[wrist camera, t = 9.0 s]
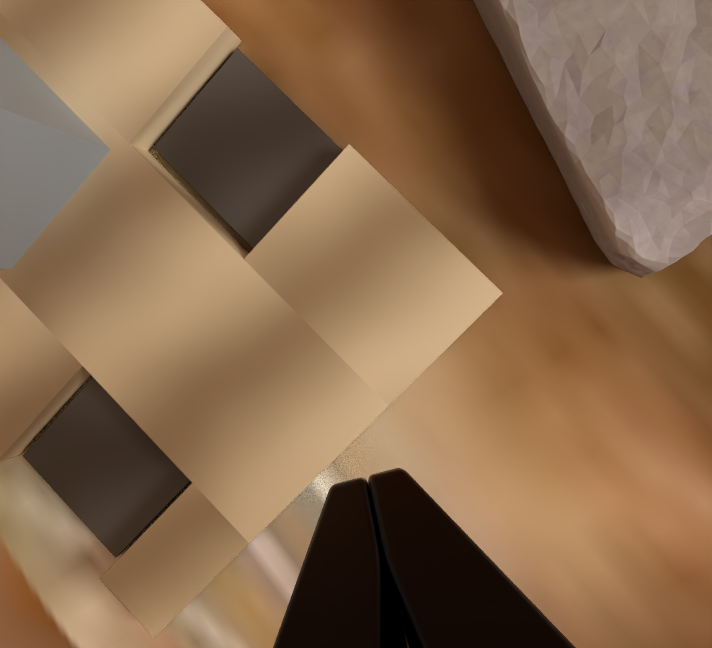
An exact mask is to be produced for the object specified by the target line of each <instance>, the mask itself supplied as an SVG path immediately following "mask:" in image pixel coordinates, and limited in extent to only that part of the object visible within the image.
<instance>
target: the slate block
mask: <svg viewBox="0 0 712 648" xmlns="http://www.w3.org/2000/svg"><path fill="white" fill-rule="evenodd" d="M110 150H111V149H110V148H109V147H108V146H107V145H106V144H105V143H104V142H103V141H102V140H101V139H100V138H99V137H98V136H97V135H96V134H95V133H94V132H93V131H92V130H91V129H90V128H89V127H88V126H87V125H86V124H85V123H84V122H83V121H82V120H81V119H80V118H79V117H78V116H77V115H76V114H75V113H74V112H73V111H72V110H71V109H70V108H69V107H68V106H67V105H66V104H65V103H64V102H63V101H62V100H61V99H60V98H59V97H58V96H57V95H56V94H55V93H54V92H53V91H52V90H51V89H50V87H49V86H48V85H47V84H46V83H45V82H44V81H43V80H42V79H41V78H40V77H39V76H38V75H37V74H36V73H35V72H34V71H33V70H32V69H31V68H30V67H29V66H28V65H27V64H26V63H25V62H24V61H23V60H22V59H21V58H20V57H19V56H18V55H17V54H16V53H15V52H14V51H13V50H12V49H11V48H10V47H9V46H8V45H7V44H6V43H5V42H4V41H3V40H2V39H0V269H12V267H13V266H14V265H15V264H16V263H17V262H18V260H19V259H20V258H21V257H22V256H23V254H24V253H25V252H26V251H27V250H28V248H29V247H30V246H31V245H32V244H33V242H34V241H35V240H36V239H37V238H38V236H39V235H40V234H41V233H42V232H43V230H44V229H45V228H46V227H47V226H48V224H49V223H50V222H51V221H52V220H53V218H54V217H55V216H56V215H57V214H58V212H59V211H60V210H61V209H62V208H63V206H64V205H65V204H66V203H67V202H68V200H69V199H70V198H71V197H72V196H73V194H74V193H75V192H76V191H77V190H78V188H79V187H80V186H81V185H82V184H83V182H84V181H85V180H86V179H87V178H88V177H89V175H90V174H91V173H92V172H93V171H94V169H95V168H96V167H97V166H98V165H99V163H100V162H101V161H102V160H103V159H104V157H105V156H106V155H107V154H108V153H109V151H110Z"/></svg>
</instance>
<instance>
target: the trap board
mask: <svg viewBox="0 0 712 648" xmlns="http://www.w3.org/2000/svg"><path fill="white" fill-rule="evenodd" d="M0 39H2V40H3V41H4V42H5V43H6V44H7V45H8V46H9V47H10V48H11V49H12V50H13V51H14V52H15V53H16V54H17V55H18V56H19V57H20V58H21V59H22V60H23V61H24V62H25V63H26V64H27V65H28V66H29V67H30V68H31V69H32V70H33V71H34V72H35V73H36V74H37V75H38V76H39V77H40V78H41V79H42V80H43V81H44V82H45V83H46V84H47V85H48V86H49V87H50V89H51V90H52V91H53V92H54V93H55V94H56V95H57V96H58V97H59V98H60V99H61V100H62V101H63V102H64V103H65V104H66V105H67V106H68V107H69V108H70V109H71V110H72V111H73V112H74V113H75V114H76V115H77V116H78V117H79V118H80V119H81V120H82V121H83V122H84V123H85V124H86V125H87V126H88V127H89V128H90V129H91V130H92V131H93V132H94V133H95V134H96V135H97V136H98V137H99V138H100V139H101V140H102V141H103V142H104V143H105V144H106V145H107V146H108V147H109V148H110V149H111V150H110V151H109V153H108V154H107V155H106V156H105V157H104V159H103V160H102V161H101V162H100V163H99V165H98V166H97V167H96V168H95V169H94V171H93V172H92V173H91V174H90V175H89V177H88V178H87V179H86V180H85V181H84V182H83V184H82V185H81V186H80V187H79V188H78V190H77V191H76V192H75V193H74V194H73V196H72V197H71V198H70V199H69V200H68V202H67V203H66V204H65V205H64V206H63V208H62V209H61V210H60V211H59V212H58V214H57V215H56V216H55V217H54V218H53V220H52V221H51V222H50V223H49V224H48V226H47V227H46V228H45V229H44V230H43V232H42V233H41V234H40V235H39V236H38V238H37V239H36V240H35V241H34V242H33V244H32V245H31V246H30V247H29V248H28V250H27V251H26V252H25V253H24V254H23V256H22V257H21V258H20V259H19V260H18V262H17V263H16V264H15V265H14V266H13V267H12V269H0V461H3V460H6V459H9V458H11V457H14V456H17V455H20V454H21V453H22V452H23V451H24V450H25V448H26V447H27V446H28V445H29V444H30V443H31V442H32V441H33V439H34V438H35V437H36V436H37V435H38V434H39V433H40V432H41V431H42V429H43V428H44V427H45V426H46V425H47V424H48V423H49V422H50V421H51V419H52V418H53V417H54V416H55V415H56V414H57V413H58V412H59V411H60V409H61V408H62V407H63V406H64V405H65V404H66V403H67V402H68V401H69V399H70V398H71V397H72V396H73V395H74V394H75V393H76V392H77V390H78V389H79V388H80V387H81V386H82V385H83V384H84V383H85V382H86V380H87V379H88V378H89V377H90V376H91V375H92V376H93V378H92V379H91V380H90V381H89V383H88V384H87V385H86V386H85V387H84V388H83V389H82V390H81V391H80V393H79V394H78V395H77V396H76V397H75V398H74V399H73V400H72V401H71V403H70V404H69V405H68V406H67V407H66V408H65V409H64V410H63V412H62V413H61V414H60V415H59V416H58V417H57V418H56V419H55V420H54V422H53V423H52V424H51V425H50V426H49V427H48V428H47V429H46V430H45V432H44V433H43V434H42V435H41V436H40V437H39V438H38V439H37V440H36V442H35V443H34V444H33V445H32V446H31V447H30V448H29V449H28V450H27V452H26V453H25V454H24V455H23V457H24V458H25V459H26V460H27V461H28V462H29V463H30V464H31V465H32V467H33V468H34V469H35V470H36V471H37V472H38V473H39V474H40V475H41V476H42V478H43V479H44V480H45V481H46V482H47V483H48V484H49V485H50V486H51V487H52V488H53V490H54V491H55V492H56V493H57V494H58V495H59V496H60V497H61V498H62V499H63V501H64V502H65V503H66V504H67V505H68V506H69V507H70V508H71V509H72V510H73V511H74V513H75V514H76V515H77V516H78V517H79V518H80V519H81V520H82V521H83V522H84V524H85V525H86V526H87V527H88V528H89V529H90V530H91V531H92V532H93V533H94V535H95V536H96V537H97V538H98V539H99V540H100V541H101V542H102V543H103V544H104V545H105V547H106V548H107V549H108V550H109V551H110V552H111V553H112V554H113V555H114V556H115V557H117V556H118V555H119V554H121V553H122V552H123V551H124V550H125V548H126V547H127V546H128V545H129V544H130V543H131V542H132V541H133V540H134V539H135V538H136V537H137V536H138V535H139V534H140V533H141V532H142V531H143V530H144V529H145V528H146V527H147V526H148V525H149V524H150V523H151V522H152V521H153V520H154V519H155V518H156V516H157V515H158V514H159V513H160V512H161V511H162V510H163V509H164V508H165V507H166V506H167V505H168V504H169V503H170V502H171V501H172V500H173V499H174V498H175V497H176V496H177V495H178V494H179V493H180V492H181V491H182V490H183V489H184V488H185V487H186V486H187V484H188V483H189V482H190V481H191V482H192V484H191V485H190V486H189V487H188V488H187V489H186V490H185V491H184V492H183V493H182V494H181V495H180V496H179V497H178V498H177V499H176V500H175V501H174V502H173V503H172V504H171V506H170V507H169V508H168V509H167V510H166V511H165V512H164V513H163V514H162V515H161V516H160V517H159V518H158V519H157V520H156V521H155V522H154V523H153V524H152V525H151V526H150V527H149V528H148V529H147V530H146V531H145V532H144V533H143V534H142V535H141V536H140V537H139V539H138V540H137V541H136V542H135V543H134V544H133V545H132V546H131V547H130V548H129V549H128V550H127V551H126V552H125V553H124V554H123V555H122V556H121V557H120V558H119V559H118V560H117V561H116V562H115V563H114V564H113V565H112V566H111V567H110V568H109V569H108V570H107V571H106V573H105V574H104V575H103V576H102V577H101V578H100V580H101V581H102V582H103V583H104V584H105V585H106V586H107V587H108V589H109V590H110V591H111V592H112V593H113V594H114V595H115V596H116V597H117V599H118V600H119V601H120V602H121V603H122V604H123V605H124V606H125V607H126V608H127V610H128V611H129V612H130V613H131V614H132V615H133V616H134V617H135V618H136V619H137V621H138V622H139V623H140V624H141V625H142V626H143V627H144V628H145V629H146V631H147V632H148V633H149V634H150V635H151V636H152V637H153V638H154V637H155V636H156V635H157V634H158V633H159V632H160V631H161V630H162V629H163V628H164V627H165V626H166V625H167V624H168V623H169V622H170V621H171V620H172V619H173V618H174V617H175V616H176V615H177V614H178V613H179V612H180V611H181V610H182V609H183V608H184V607H185V606H186V605H187V604H188V603H189V602H191V601H192V600H193V599H194V598H195V597H196V596H197V595H198V594H199V593H200V592H201V591H202V590H203V589H204V588H205V587H206V586H207V585H208V584H209V583H210V582H211V581H212V580H213V579H214V578H215V577H216V576H217V575H218V574H219V573H220V572H221V571H222V570H223V569H224V568H225V567H226V566H227V565H228V564H229V563H230V562H231V561H232V560H233V559H234V558H235V557H236V556H237V555H238V554H239V553H240V552H241V551H242V550H243V549H244V548H245V547H246V546H247V545H248V544H249V543H250V542H251V541H252V540H253V539H254V538H255V537H256V536H257V535H258V534H259V533H260V532H261V531H262V530H263V529H264V528H265V527H266V526H267V525H269V524H270V523H271V522H272V521H273V520H274V519H275V518H276V517H277V516H278V515H279V514H280V513H281V512H282V511H283V510H284V509H285V508H286V507H287V506H288V505H289V504H290V503H291V502H292V501H293V500H294V499H295V498H296V497H297V496H298V495H299V494H300V493H301V492H302V491H303V490H304V489H305V488H306V487H307V486H308V485H309V484H310V483H311V482H312V481H313V480H314V479H315V478H316V477H317V476H318V475H319V474H320V473H321V472H322V471H323V470H324V469H325V468H326V467H327V466H328V465H329V464H330V463H331V462H332V461H333V460H334V459H335V458H336V457H337V456H338V455H339V454H340V453H341V452H342V451H343V450H344V449H345V448H347V447H348V446H349V445H350V444H351V443H352V442H353V441H354V440H355V439H356V438H357V437H358V436H359V435H360V434H361V433H362V432H363V431H364V430H365V429H366V428H367V427H368V426H369V425H370V424H371V423H372V422H373V421H374V420H375V419H376V418H377V417H378V416H379V415H380V414H381V413H382V412H383V411H384V410H385V409H386V408H387V407H388V406H389V405H390V404H391V403H392V402H393V401H394V400H395V399H396V398H397V397H398V396H399V395H400V394H401V393H402V392H403V391H404V390H405V389H406V388H407V387H408V386H409V385H410V384H411V383H412V382H413V381H414V380H415V379H416V378H417V377H418V376H419V375H420V374H421V373H422V372H423V371H424V370H426V369H427V368H428V367H429V366H430V365H431V364H432V363H433V362H434V361H435V360H436V359H437V358H438V357H439V356H440V355H441V354H442V353H443V352H444V351H445V350H446V349H447V348H448V347H449V346H450V345H451V344H452V343H453V342H454V341H455V340H456V339H457V338H458V337H459V336H460V335H461V334H462V333H463V332H464V331H465V330H466V329H467V328H468V327H469V326H470V325H471V324H472V323H473V322H474V321H475V320H476V319H477V318H478V317H479V316H480V315H481V314H482V313H483V312H484V311H485V310H486V309H487V308H488V307H489V306H490V305H491V304H492V303H493V302H494V301H495V300H496V299H497V298H498V297H499V296H500V295H501V294H502V292H501V291H500V290H499V289H498V288H497V287H496V286H495V285H494V284H493V283H492V282H491V281H490V280H489V279H488V278H487V277H486V276H485V275H484V274H483V273H481V272H480V271H479V270H478V269H477V268H476V267H475V266H474V265H473V264H472V263H471V262H470V261H469V260H468V259H467V258H466V257H465V256H464V255H463V254H462V253H461V252H460V251H459V250H458V249H457V248H456V247H455V246H454V245H453V244H452V243H451V242H450V241H448V240H447V239H446V238H445V237H444V236H443V235H442V234H441V233H440V232H439V231H438V230H437V229H436V228H435V227H434V226H433V225H432V224H431V223H430V222H429V221H428V220H427V219H426V218H425V217H424V216H423V215H422V214H421V213H420V212H419V211H418V210H417V209H415V208H414V207H413V206H412V205H411V204H410V203H409V202H408V201H407V200H406V199H405V198H404V197H403V196H402V195H401V194H400V193H399V192H398V191H397V190H396V189H395V188H394V187H393V186H392V185H391V184H390V183H389V182H388V181H387V180H386V179H385V178H384V177H382V176H381V175H380V174H379V173H378V172H377V171H376V170H375V169H374V168H373V167H372V166H371V165H370V164H369V163H368V162H367V161H366V160H365V159H364V158H363V157H362V156H361V155H360V154H359V153H358V152H357V151H356V150H355V149H354V148H353V147H352V146H351V145H350V144H349V145H348V146H347V147H346V148H345V149H344V150H341V149H340V148H339V147H338V146H337V145H336V144H335V143H334V142H333V141H332V140H331V139H330V138H329V137H328V136H327V135H326V134H325V133H324V132H323V131H322V130H321V129H320V128H319V127H318V126H317V125H316V124H315V123H314V122H313V121H312V120H311V119H310V118H309V117H308V116H307V115H305V114H304V113H303V112H302V111H301V110H300V109H299V108H298V107H297V106H296V105H295V104H294V103H293V102H292V101H291V100H290V99H289V98H288V97H287V96H286V95H285V94H284V93H283V92H282V91H281V90H280V89H279V88H278V87H277V86H276V85H275V84H274V83H273V82H272V81H271V80H270V79H268V78H267V77H266V76H265V75H264V74H263V73H262V72H261V71H260V70H259V69H258V68H257V67H256V66H255V65H254V64H253V63H252V62H251V61H250V60H249V59H248V58H247V57H246V56H245V55H244V54H243V53H242V52H241V51H240V50H239V49H238V48H237V50H236V51H235V52H234V53H233V54H232V55H231V57H230V58H229V59H228V60H227V61H226V62H225V60H226V59H227V58H228V57H229V56H230V54H231V53H232V52H233V51H234V50H235V49H236V47H237V46H238V45H239V44H240V43H241V42H242V41H241V40H240V39H239V38H238V37H237V36H236V35H235V33H234V32H233V31H232V30H231V29H230V28H229V27H228V26H227V25H226V24H225V23H224V22H223V21H222V20H221V19H220V18H219V17H218V16H216V15H215V14H214V13H213V12H212V11H211V10H210V9H209V8H208V7H207V6H206V5H205V4H204V3H203V2H202V1H201V0H0ZM224 62H225V64H224V65H223V66H222V67H221V68H220V70H219V71H218V72H217V73H216V74H215V75H214V77H213V78H212V79H211V80H210V81H209V82H208V84H207V85H206V86H205V87H204V88H203V89H202V87H203V86H204V85H205V84H206V83H207V81H208V80H209V79H210V78H211V77H212V76H213V74H214V73H215V72H216V71H217V70H218V69H219V67H220V66H221V65H222V64H223V63H224ZM201 89H202V91H201V92H200V93H199V94H198V95H197V97H196V98H195V99H194V100H193V101H192V102H191V104H190V105H189V106H188V107H187V108H186V109H185V107H186V106H187V105H188V104H189V103H190V101H191V100H192V99H193V98H194V97H195V96H196V94H197V93H198V92H199V91H200V90H201ZM184 109H185V111H184V112H183V113H182V114H181V115H180V117H179V118H178V119H177V120H176V121H175V122H174V124H173V125H172V126H171V127H170V128H169V129H168V131H167V132H166V133H165V134H164V135H163V136H162V134H163V133H164V132H165V131H166V130H167V128H168V127H169V126H170V125H171V124H172V123H173V121H174V120H175V119H176V118H177V117H178V116H179V114H180V113H181V112H182V111H183V110H184ZM161 136H162V138H161V139H160V140H159V141H158V142H157V144H156V145H155V146H154V147H153V148H154V149H155V150H156V151H157V152H158V153H159V154H160V155H161V156H162V157H163V158H164V159H165V160H166V161H167V162H168V163H169V164H170V165H171V166H172V167H173V168H174V169H175V170H176V171H177V172H178V173H179V174H180V175H181V176H182V177H183V178H184V179H185V180H186V181H187V182H188V183H189V184H190V185H191V186H192V187H193V188H194V189H195V190H196V191H197V192H198V193H199V194H200V195H201V196H202V197H203V199H204V200H205V201H206V202H207V203H208V204H209V205H210V206H211V207H212V208H213V209H214V210H215V211H216V212H217V213H218V214H219V215H220V216H221V217H222V218H223V219H224V220H225V221H226V222H227V223H228V224H229V225H230V226H231V227H232V228H233V229H234V230H235V231H236V232H237V233H238V234H239V235H240V236H241V237H242V238H243V239H244V240H245V241H246V242H247V243H248V244H249V245H250V246H251V247H252V248H253V250H252V251H251V252H250V253H249V252H248V251H247V250H246V249H245V248H244V247H243V246H242V245H241V244H240V243H239V242H238V241H237V240H236V239H235V238H234V237H233V236H232V235H231V234H230V233H229V232H228V231H227V230H226V229H225V228H224V227H223V226H222V225H221V224H220V223H219V222H218V221H217V220H216V219H215V218H214V217H213V216H212V215H211V214H210V213H209V212H208V211H207V210H206V209H205V208H204V207H203V206H202V205H201V204H200V203H199V202H198V201H197V200H196V199H195V198H194V197H193V196H192V195H191V194H190V193H189V192H188V191H187V190H186V189H185V188H184V187H183V186H182V185H181V184H180V183H179V182H178V181H177V180H176V179H175V178H174V177H173V176H172V175H171V174H170V173H169V172H168V171H167V170H166V169H165V168H164V167H163V166H162V165H161V164H160V163H159V162H158V161H157V160H156V159H155V158H154V157H153V155H152V154H151V153H150V152H149V150H150V148H151V147H152V146H153V145H154V144H155V143H156V141H157V140H158V139H159V138H160V137H161Z"/></svg>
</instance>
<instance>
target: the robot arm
mask: <svg viewBox="0 0 712 648" xmlns="http://www.w3.org/2000/svg"><path fill="white" fill-rule="evenodd" d="M368 484H369V485H368ZM408 646H409V647H408ZM273 648H575V647H574V646H573V645H572V643H571V642H570V641H569V640H568V639H567V638H566V637H565V636H564V635H563V634H562V633H561V632H560V631H559V630H558V629H557V628H556V627H555V626H554V625H553V624H552V623H551V622H550V621H549V620H548V619H547V617H546V616H545V615H544V614H543V613H542V612H541V611H540V610H539V609H538V608H537V607H536V606H535V605H534V604H533V603H532V602H531V601H530V600H529V599H528V598H527V597H526V596H525V595H524V594H523V592H522V591H521V590H520V589H519V588H518V587H517V586H516V585H515V584H514V583H513V582H512V581H511V580H510V579H509V578H508V577H507V576H506V575H505V574H504V573H503V572H502V571H501V570H500V569H499V568H498V566H497V565H496V564H495V563H494V562H493V561H492V560H491V559H490V558H489V557H488V556H487V555H486V554H485V553H484V552H483V551H482V550H481V549H480V548H479V547H478V546H477V545H476V544H475V543H474V541H473V540H472V539H471V538H470V537H469V536H468V535H467V534H466V533H465V532H464V531H463V530H462V529H461V528H460V527H459V526H458V525H457V524H456V523H455V522H454V521H453V520H452V519H451V518H450V517H449V515H448V514H447V513H446V512H445V511H444V510H443V509H442V508H441V507H440V506H439V505H438V504H437V503H436V502H435V501H434V500H433V499H432V498H431V497H430V496H429V495H428V494H427V493H426V492H425V490H424V489H423V488H422V487H421V486H420V485H419V484H418V483H417V482H416V481H415V480H414V479H413V478H412V477H411V476H410V475H409V474H408V473H407V472H406V471H405V470H403V469H401V468H396V469H392V470H388V471H384V472H380V473H376V474H373V475H371V476H370V477H369V479H368V482H367V480H366V479H364V478H357V479H353V480H349V481H345V482H341V483H337V484H334V485H333V486H332V487H331V488H330V490H329V492H328V495H327V497H326V500H325V503H324V506H323V509H322V512H321V514H320V517H319V520H318V523H317V526H316V528H315V531H314V534H313V537H312V540H311V542H310V545H309V548H308V551H307V554H306V557H305V559H304V562H303V565H302V568H301V571H300V573H299V576H298V579H297V582H296V585H295V587H294V590H293V593H292V596H291V599H290V602H289V604H288V607H287V610H286V613H285V616H284V618H283V621H282V624H281V627H280V630H279V632H278V635H277V638H276V641H275V644H274V646H273Z"/></svg>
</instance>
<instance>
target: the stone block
mask: <svg viewBox="0 0 712 648" xmlns="http://www.w3.org/2000/svg"><path fill="white" fill-rule="evenodd" d="M473 2H474V3H475V6H476V8H477V10H478V12H479V14H480V16H481V18H482V20H483V22H484V24H485V26H486V28H487V30H488V31H489V33H490V35H491V37H492V39H493V41H494V43H495V44H496V46H497V48H498V50H499V52H500V54H501V56H502V58H503V60H504V62H505V64H506V66H507V69H508V71H509V73H510V75H511V77H512V79H513V81H514V83H515V85H516V87H517V89H518V91H519V93H520V95H521V97H522V98H523V100H524V102H525V104H526V106H527V108H528V110H529V112H530V114H531V116H532V118H533V120H534V122H535V124H536V126H537V128H538V130H539V132H540V134H541V135H542V137H543V139H544V141H545V143H546V145H547V147H548V149H549V151H550V153H551V155H552V156H553V158H554V160H555V162H556V164H557V166H558V168H559V170H560V172H561V174H562V176H563V178H564V180H565V182H566V184H567V186H568V188H569V191H570V193H571V195H572V197H573V199H574V201H575V203H576V204H577V206H578V208H579V210H580V213H581V215H582V217H583V219H584V221H585V223H586V225H587V227H588V228H589V230H590V233H591V235H592V237H593V239H594V241H595V243H596V244H597V245H598V247H599V248H600V249H601V250H602V252H603V253H604V255H605V256H606V257H607V259H608V260H609V261H610V263H611V264H612V265H614V266H616V267H618V268H620V269H622V270H624V271H627V272H629V273H632V274H634V275H636V276H639V277H644V276H646V275H648V274H651V273H654V272H657V271H660V270H662V269H663V268H665V267H667V266H669V265H671V264H673V263H675V262H676V261H678V260H679V259H680V258H682V257H683V256H685V255H687V254H688V253H690V252H692V251H693V250H694V249H695V248H696V247H697V246H698V245H699V244H700V242H701V241H702V240H704V239H705V238H707V237H708V236H710V235H712V0H473Z"/></svg>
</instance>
